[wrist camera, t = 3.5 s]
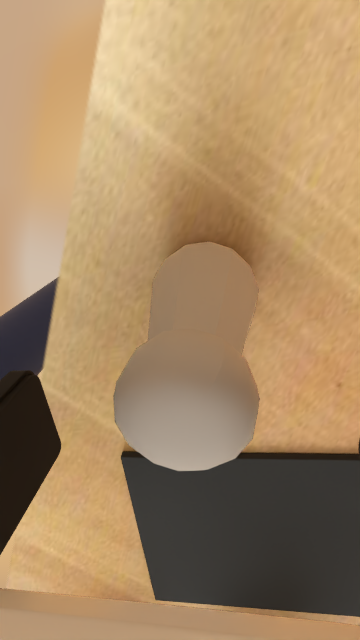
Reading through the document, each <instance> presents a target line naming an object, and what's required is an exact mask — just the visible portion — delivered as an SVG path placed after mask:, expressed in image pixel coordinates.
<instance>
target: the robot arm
mask: <svg viewBox="0 0 360 640" xmlns="http://www.w3.org/2000/svg"><path fill="white" fill-rule="evenodd" d="M60 450H61V441H60V438H59V435H58V432H57V429H56V426H55V423H54V420H53V417H52V414H51V412H50V409H49V406H48V403H47V400H46V397H45V394H44V391H43V388H42V385H41V382H40V379H39V377H38V376H36V375H34V373H33V372H32V371H11V372H9V373H8V374H7V375H6V376H5V377H4V378H3V379H1V380H0V555H1V553H2V551H3V549H4V548H5V546H6V544H7V542H8V541H9V539H10V537H11V536H12V534H13V532H14V531H15V529H16V527H17V526H18V524H19V522H20V520H21V519H22V517H23V515H24V514H25V512H26V510H27V508H28V507H29V505H30V503H31V502H32V500H33V498H34V496H35V495H36V493H37V491H38V490H39V488H40V486H41V484H42V483H43V481H44V479H45V478H46V476H47V474H48V472H49V471H50V469H51V467H52V466H53V464H54V462H55V460H56V459H57V457H58V455H59V453H60ZM359 457H360V440H359ZM0 640H360V625H352V624H344V623H336V622H327V621H317V620H308V619H298V618H289V617H279V616H270V615H261V614H251V613H242V612H232V611H223V610H213V609H204V608H194V607H185V606H175V605H165V604H155V603H145V602H135V601H125V600H115V599H105V598H95V597H85V596H75V595H65V594H55V593H44V592H34V591H23V590H12V589H2V588H0Z"/></svg>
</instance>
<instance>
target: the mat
mask: <svg viewBox="0 0 360 640" xmlns="http://www.w3.org/2000/svg"><path fill="white" fill-rule="evenodd" d="M121 460H122V464H123V468H124V472H125V476H126V480H127V485H128V489H129V493H130V497H131V501H132V505H133V509H134V513H135V517H136V521H137V526H138V530H139V534H140V538H141V542H142V546H143V550H144V554H145V558H146V562H147V567H148V571H149V575H150V579H151V583H152V587H153V591H154V595H155V599H156V600H161V601H173V602H185V603H197V604H210V605H222V606H234V607H247V608H259V609H271V610H284V611H296V612H308V613H320V614H333V615H345V616H357V617H360V457H359V454H274V453H240V454H239V455H238V456H237V457H236V458H235V459H233V460H230V461H228V462H225V463H223V464H220V465H218V466H215V467H213V468H210V469H207V470H197V471H177V470H173V469H170V468H167V467H164V466H161V465H157V464H154V463H153V462H151V461H150V460H149V459H147V458H146V457H144V456H143V455H142V454H140V453H139V452H122V455H121Z"/></svg>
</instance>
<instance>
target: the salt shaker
mask: <svg viewBox="0 0 360 640" xmlns="http://www.w3.org/2000/svg"><path fill="white" fill-rule="evenodd" d="M258 292H259V288H258V285H257V282H256V279H255V277H254V274H253V271H252V268H251V266H250V265H249V264H248V263H247V262H246V261H245V260H244V259H243V258H242V257H241V256H240V255H238V254H237V253H236V252H235V251H234V250H233V249H232V248H229V247H226V246H223V245H219V244H216V243H213V242H210V241H208V242H201V243H195V244H188V245H184V246H183V247H182V248H180V249H179V250H177V251H176V252H174V253H173V254H172V255H170V256H169V257H167V258H166V259H164V261H163V263H162V264H161V266H160V268H159V270H158V272H157V274H156V276H155V277H154V279H153V287H152V298H151V309H150V320H149V331H148V341H147V342H146V343H144V344H142V345H141V346H139V347H137V348H136V350H135V351H134V353H133V355H132V356H131V358H130V360H129V361H128V363H127V365H126V366H125V368H124V370H123V371H122V373H121V375H120V377H119V378H118V380H117V382H116V387H115V392H114V413H115V422H116V424H117V426H118V428H119V429H120V431H121V433H122V434H123V436H124V438H125V440H126V441H127V443H128V445H130V446H131V447H132V448H133V449H135V450H136V451H137V452H139V453H140V454H142V455H143V456H144V457H146V458H147V459H149V460H150V461H151V462H153V463H154V464H157V465H161V466H164V467H167V468H170V469H173V470H177V471H197V470H207V469H210V468H213V467H215V466H218V465H220V464H223V463H225V462H228V461H230V460H233V459H235V458H236V457H237V456H238V455H239V454H240V453H241V451H242V450H243V449H244V448H245V447H246V446H247V445H248V443H249V442H250V441H251V440H252V439H253V434H254V429H255V424H256V419H257V414H258V407H259V400H260V398H259V393H258V389H257V385H256V383H255V380H254V378H253V375H252V373H251V370H250V368H249V365H248V363H247V361H246V359H245V358H244V357H243V356H242V351H243V348H244V344H245V341H246V338H247V335H248V332H249V329H250V326H251V323H252V319H253V316H254V313H255V309H256V304H257V298H258Z"/></svg>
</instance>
